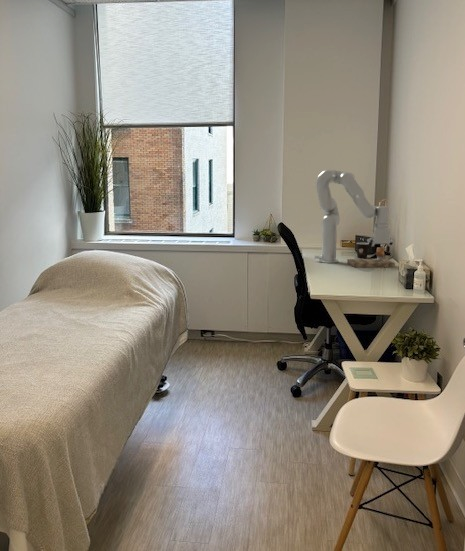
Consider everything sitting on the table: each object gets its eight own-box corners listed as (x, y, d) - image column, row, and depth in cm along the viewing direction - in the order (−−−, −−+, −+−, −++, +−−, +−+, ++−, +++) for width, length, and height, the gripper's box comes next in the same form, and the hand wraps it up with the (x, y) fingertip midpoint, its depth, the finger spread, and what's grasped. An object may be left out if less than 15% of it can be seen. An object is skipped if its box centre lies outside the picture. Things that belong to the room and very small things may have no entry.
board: (354, 267, 336) (354, 263, 335) (347, 263, 351) (347, 259, 351) (394, 266, 337) (395, 262, 337) (386, 262, 353) (386, 258, 352)
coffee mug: (353, 257, 374) (353, 243, 372) (361, 256, 379) (361, 242, 377) (366, 259, 365) (367, 245, 363) (374, 258, 370) (375, 244, 368)
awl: (377, 265, 342) (378, 248, 340) (374, 264, 347) (375, 247, 345) (384, 265, 342) (385, 248, 340) (381, 264, 347) (382, 247, 345)
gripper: (370, 226, 336) (368, 253, 339) (397, 226, 337) (395, 253, 340) (366, 225, 343) (364, 251, 346) (393, 225, 344) (391, 251, 347)
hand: (380, 252), depth 343 cm, fingers open, 9 cm apart
